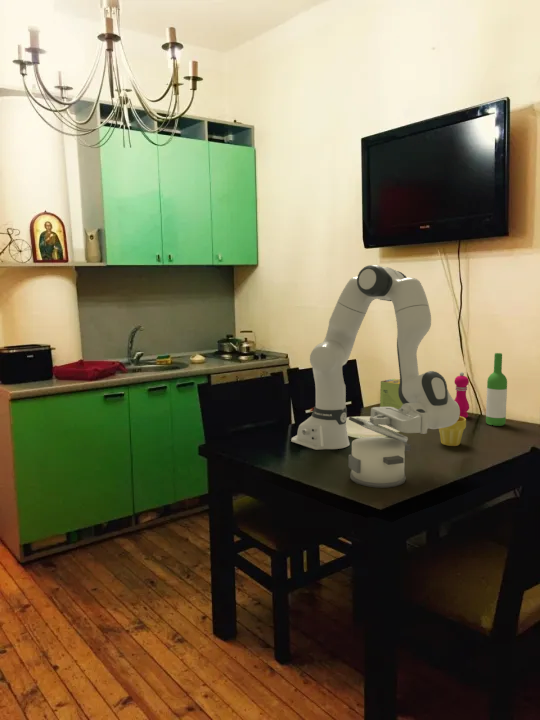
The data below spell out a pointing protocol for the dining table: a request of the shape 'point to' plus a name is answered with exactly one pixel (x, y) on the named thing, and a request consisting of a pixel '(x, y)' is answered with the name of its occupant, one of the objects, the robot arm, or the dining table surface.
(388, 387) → the protein box
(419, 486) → the dining table surface
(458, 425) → the plant pot
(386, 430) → the lid
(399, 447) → the cooker
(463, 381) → the pepper mill
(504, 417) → the wine bottle
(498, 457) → the dining table surface
